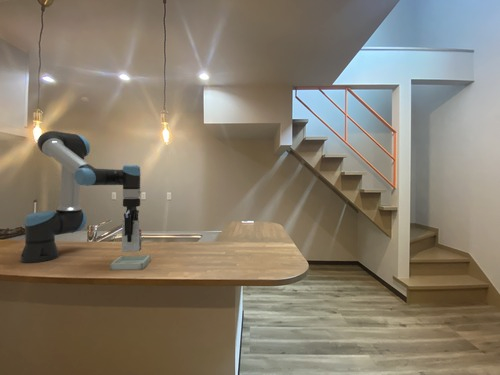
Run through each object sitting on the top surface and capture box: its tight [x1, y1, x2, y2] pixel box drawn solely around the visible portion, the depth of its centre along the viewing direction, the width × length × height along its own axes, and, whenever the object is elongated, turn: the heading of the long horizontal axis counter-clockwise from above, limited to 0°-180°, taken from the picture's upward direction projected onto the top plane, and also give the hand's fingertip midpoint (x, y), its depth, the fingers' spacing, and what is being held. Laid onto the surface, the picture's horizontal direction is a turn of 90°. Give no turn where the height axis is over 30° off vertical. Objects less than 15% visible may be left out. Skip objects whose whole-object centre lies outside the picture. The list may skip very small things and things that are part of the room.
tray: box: [109, 254, 151, 271], centre depth 126 cm, size 14×13×3 cm
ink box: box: [121, 219, 142, 253], centre depth 125 cm, size 4×8×15 cm, turn 96°
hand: (131, 247), depth 125 cm, fingers closed on ink box, 4 cm apart
